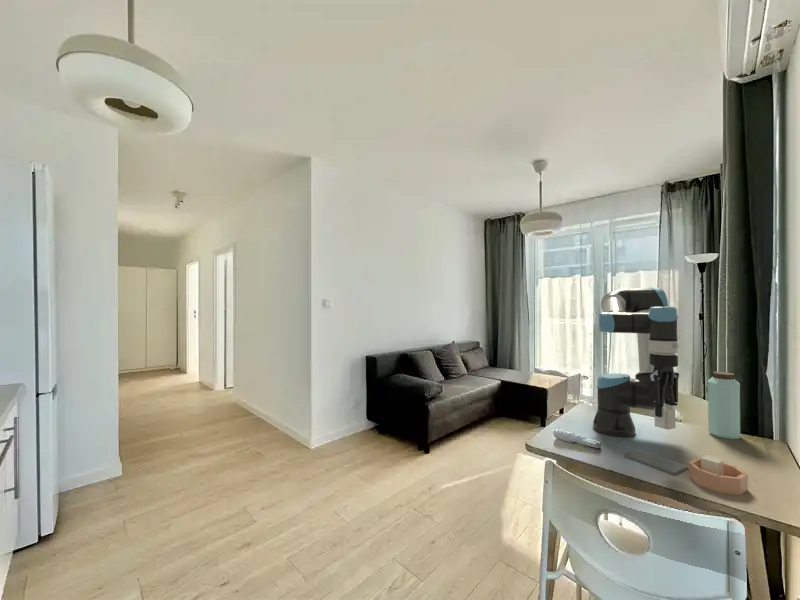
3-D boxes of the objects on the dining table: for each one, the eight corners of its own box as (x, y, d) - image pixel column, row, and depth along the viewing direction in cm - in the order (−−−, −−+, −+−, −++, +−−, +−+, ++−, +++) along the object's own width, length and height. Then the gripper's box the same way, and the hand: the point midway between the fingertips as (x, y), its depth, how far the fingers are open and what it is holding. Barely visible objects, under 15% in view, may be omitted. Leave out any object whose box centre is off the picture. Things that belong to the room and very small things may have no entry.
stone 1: (654, 426, 116) (654, 407, 116) (661, 424, 117) (661, 406, 118) (668, 429, 112) (667, 410, 112) (675, 428, 114) (675, 409, 114)
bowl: (683, 479, 107) (683, 464, 107) (701, 469, 113) (701, 455, 113) (735, 498, 96) (735, 482, 96) (752, 487, 102) (752, 471, 102)
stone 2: (701, 477, 106) (700, 457, 106) (706, 474, 108) (706, 454, 108) (718, 483, 103) (717, 463, 103) (723, 480, 105) (723, 459, 105)
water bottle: (733, 442, 134) (732, 376, 134) (702, 433, 143) (701, 372, 143) (747, 438, 138) (746, 374, 138) (715, 429, 147) (715, 369, 147)
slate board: (624, 456, 122) (624, 454, 122) (638, 451, 127) (638, 449, 127) (674, 475, 109) (674, 472, 109) (688, 468, 114) (688, 466, 114)
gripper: (660, 356, 109) (662, 433, 108) (690, 353, 116) (692, 425, 115) (635, 353, 115) (636, 425, 115) (665, 351, 123) (666, 419, 122)
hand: (664, 425), depth 115 cm, fingers closed on stone 1, 4 cm apart
